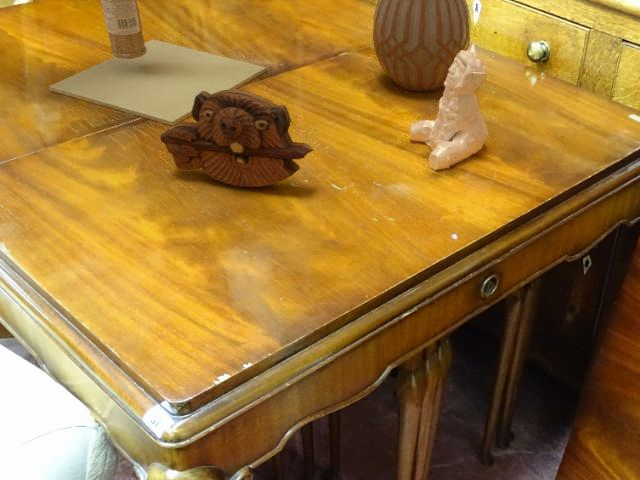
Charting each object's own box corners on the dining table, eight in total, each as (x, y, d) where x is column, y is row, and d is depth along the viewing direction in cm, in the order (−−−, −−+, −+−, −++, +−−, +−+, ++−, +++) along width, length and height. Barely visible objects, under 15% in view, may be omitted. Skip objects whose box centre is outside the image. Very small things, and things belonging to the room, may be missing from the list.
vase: (408, 110, 101) (413, -32, 90) (354, 75, 109) (353, -59, 98) (485, 89, 107) (498, -46, 96) (429, 57, 115) (435, -70, 104)
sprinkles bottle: (147, 46, 106) (128, -59, 98) (146, 59, 103) (126, -49, 94) (112, 48, 105) (89, -58, 97) (110, 61, 102) (86, -48, 93)
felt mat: (49, 90, 100) (48, 86, 100) (153, 43, 114) (152, 39, 114) (173, 126, 94) (172, 121, 94) (266, 71, 108) (266, 67, 108)
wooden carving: (160, 184, 84) (143, 96, 77) (176, 164, 87) (161, 78, 81) (308, 201, 82) (303, 113, 76) (319, 180, 86) (315, 94, 79)
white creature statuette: (404, 136, 95) (407, 39, 87) (468, 127, 98) (477, 32, 90) (432, 172, 88) (439, 71, 81) (500, 162, 91) (512, 63, 83)
